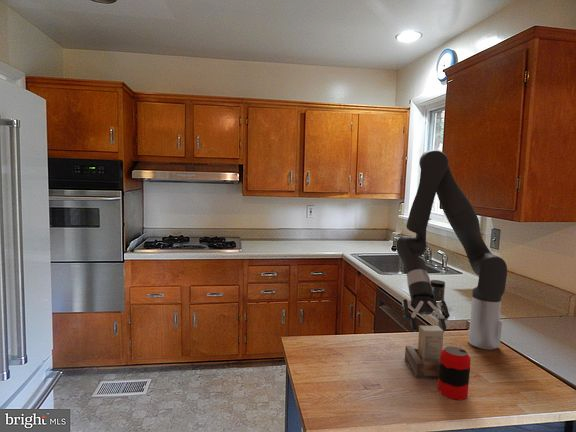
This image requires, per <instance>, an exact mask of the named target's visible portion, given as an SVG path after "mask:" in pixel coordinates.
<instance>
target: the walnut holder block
mask: <svg viewBox="0 0 576 432" xmlns="http://www.w3.org/2000/svg"><path fill="white" fill-rule="evenodd" d="M444 349H445V347H443V349H442V350H444ZM404 350H405V351H404V360H405V362H406V364H407V366H408V367H409V368H410V370H411V372H412V373H413V375H414V377H415V379H418V380H419V379H422V380H425V379H426V380H439V368H440V362H436V361H422V360H421V359H420V357H419V356H418V345H405V349H404Z"/></svg>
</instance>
